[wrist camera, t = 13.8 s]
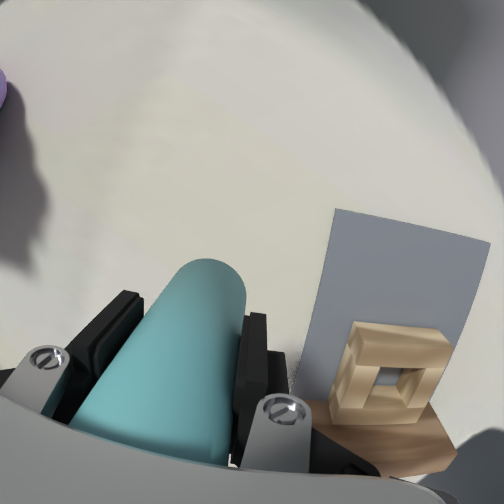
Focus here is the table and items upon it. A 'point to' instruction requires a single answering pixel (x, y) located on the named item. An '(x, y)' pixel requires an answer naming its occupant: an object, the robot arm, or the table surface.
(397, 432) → the walnut wall
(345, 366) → the oak block
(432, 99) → the table surface
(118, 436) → the dowel
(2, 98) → the cotton candy cloud
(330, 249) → the slate base
